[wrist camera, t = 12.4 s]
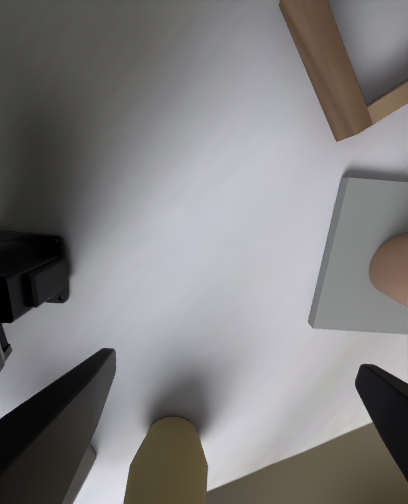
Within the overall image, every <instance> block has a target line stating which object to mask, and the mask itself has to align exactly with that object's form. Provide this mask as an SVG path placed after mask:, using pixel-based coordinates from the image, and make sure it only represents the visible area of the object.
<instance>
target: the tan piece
mask: <svg viewBox="0 0 408 504" xmlns="http://www.w3.org/2000/svg"><path fill="white" fill-rule="evenodd" d="M369 278H370V281H371V283H372V285H373V286H374V288H375V289H376V290H378V291H379V292H381V293H383V294H384V295H386V296H388V297H390V298H391V299H393V300H395V301H397V302H398V303H400V304H402V305H404V306H405V307H407V308H408V233H403V234H399V235H396V236H394V237H392V238H390V239H388V240H387V241H386V242H384V243H383V244H382V245H381V246H380V247H379V248H378V249H377V250H376V252H375V253H374V255H373V257H372V259H371V261H370V265H369Z"/></svg>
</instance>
